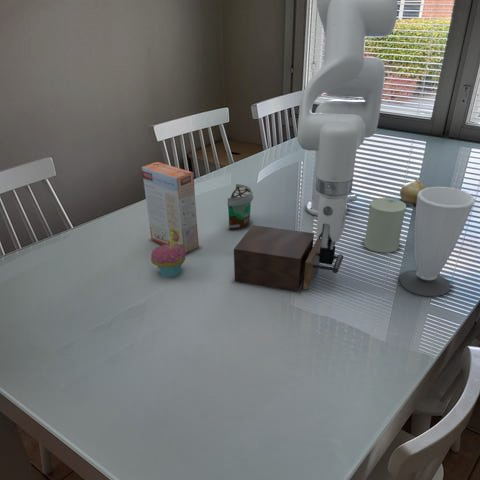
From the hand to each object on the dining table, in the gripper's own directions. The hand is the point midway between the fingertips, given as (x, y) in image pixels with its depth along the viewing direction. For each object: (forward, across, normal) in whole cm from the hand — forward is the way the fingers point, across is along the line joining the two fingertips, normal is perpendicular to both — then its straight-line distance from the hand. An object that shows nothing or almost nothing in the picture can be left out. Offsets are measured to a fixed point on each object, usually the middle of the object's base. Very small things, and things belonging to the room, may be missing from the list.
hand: (326, 262), depth 111 cm
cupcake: (+6, -8, +37) cm, 39 cm away
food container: (+5, +25, +30) cm, 39 cm away
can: (+5, +24, -11) cm, 27 cm away
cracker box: (+5, +7, +43) cm, 44 cm away
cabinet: (+5, 0, +13) cm, 14 cm away
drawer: (+4, 0, +7) cm, 8 cm away
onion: (+5, +57, -16) cm, 60 cm away
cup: (+6, +6, -23) cm, 24 cm away
